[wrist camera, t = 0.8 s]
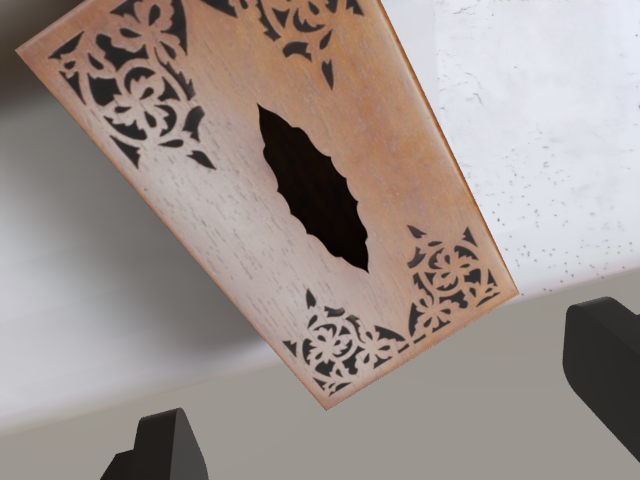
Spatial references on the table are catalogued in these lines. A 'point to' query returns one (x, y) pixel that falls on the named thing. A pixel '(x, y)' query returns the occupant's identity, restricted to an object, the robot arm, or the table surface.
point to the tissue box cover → (287, 170)
